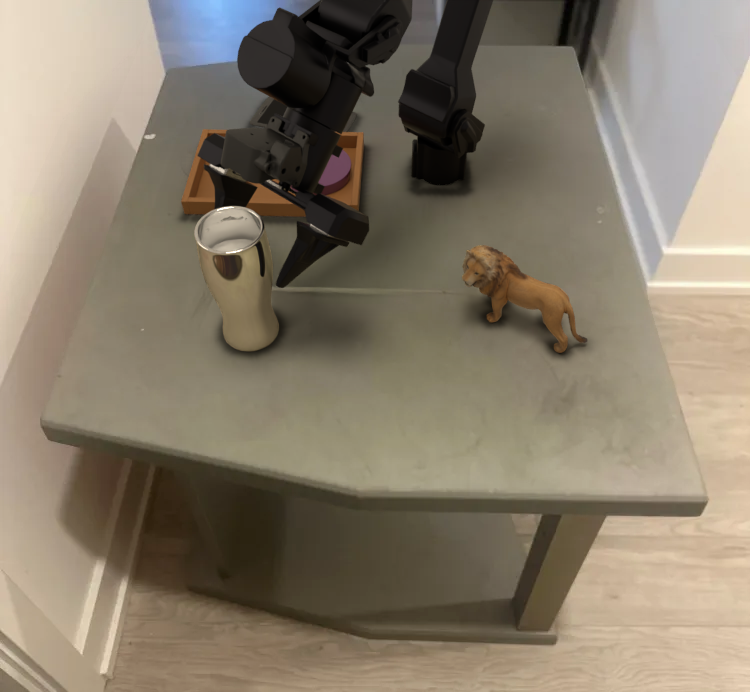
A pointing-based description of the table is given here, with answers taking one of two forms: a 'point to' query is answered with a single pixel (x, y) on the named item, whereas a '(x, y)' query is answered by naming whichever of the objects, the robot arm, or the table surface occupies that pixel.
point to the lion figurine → (518, 291)
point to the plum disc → (335, 173)
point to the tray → (264, 200)
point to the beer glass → (239, 274)
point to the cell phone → (281, 113)
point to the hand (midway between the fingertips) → (246, 265)
